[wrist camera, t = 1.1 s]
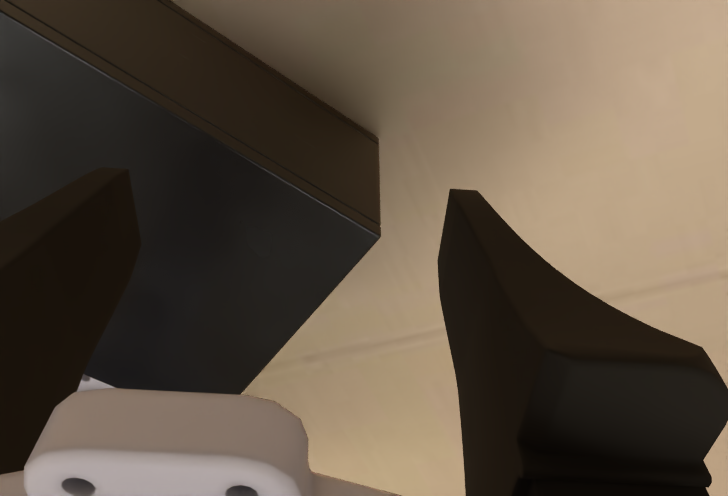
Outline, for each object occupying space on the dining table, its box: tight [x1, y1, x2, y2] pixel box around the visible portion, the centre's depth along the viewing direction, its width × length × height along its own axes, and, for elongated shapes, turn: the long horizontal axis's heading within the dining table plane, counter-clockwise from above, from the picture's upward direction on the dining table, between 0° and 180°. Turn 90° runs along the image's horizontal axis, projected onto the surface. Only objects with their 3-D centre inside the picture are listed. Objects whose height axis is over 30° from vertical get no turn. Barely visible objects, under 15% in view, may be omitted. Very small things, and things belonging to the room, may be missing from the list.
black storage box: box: [0, 0, 381, 395], centre depth 22 cm, size 13×11×7 cm
